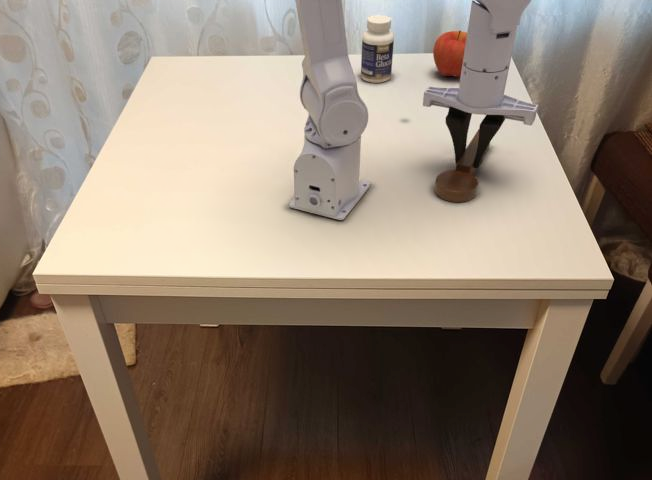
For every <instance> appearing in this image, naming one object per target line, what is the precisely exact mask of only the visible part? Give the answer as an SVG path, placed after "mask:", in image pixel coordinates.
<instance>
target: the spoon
mask: <svg viewBox="0 0 652 480" xmlns="http://www.w3.org/2000/svg"><path fill="white" fill-rule="evenodd" d="M478 140H479V129H478V130H477V131H476V133H475V134H474V136H473V138H472V139H471V140H470V142H469V144H468V145H467V146H466V150H465V151H464V153H463V155H462V156H461V158H460V159H459V161H458V162H457V164H456V165H455V169H449V170H445V171H442V172H440V173H439V174H437V176H436V177H435V182H434V183H435V185H434V193H435V195H437V197H439V198H440V199H441V200H443V201H447V202H452V203H465V202H468V201H470V200H473V199H474V198H475V197H476V196H477V192H478V187H479V180H478V177H477V176H475V175H474V174H475V172H476V171H477V169H478V168H474V160H475V156H476V152H477V148H478ZM490 145H491V142H490V143H489V145H488V147H487V150H486V152H485V155H486V153H487V152H488V150H489V148H490Z"/></svg>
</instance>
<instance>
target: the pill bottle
mask: <svg viewBox="0 0 652 480" xmlns="http://www.w3.org/2000/svg"><path fill="white" fill-rule="evenodd" d="M391 27H392V18H391V17H390V16H388V15H383V14H374V15H370V16H368V17H367V19H366V29H367V30H366V31H364V32H363V34H362V38H361V62H360V66H361V67H360V77H361V79H362V80H364V81H366V82H368V83H375V84H376V83H377V84H380V83H385V82H387V81H389V80H390V79H391V77H392V70H393V57H394V43H395V35H394V33H393V32H392V31H391V30H390V29H391Z"/></svg>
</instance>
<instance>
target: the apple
mask: <svg viewBox="0 0 652 480" xmlns="http://www.w3.org/2000/svg"><path fill="white" fill-rule="evenodd" d="M466 37H467V32H466V31H462V30H451V31H447V32H444V33H442V34H440V35H439V36H438V38H437V39H436V40H435V42H434V45H433V50H432V53H433V54H432V55H433V61H434V64H435V68H436V69H437V70H438V72H439V73H440V74H441V75H442V76H444V77H448V76H453V77H456V78H460V77H461V70H462V64H463V57H464V51H465V44H466Z"/></svg>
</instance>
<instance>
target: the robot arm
mask: <svg viewBox="0 0 652 480" xmlns="http://www.w3.org/2000/svg"><path fill="white" fill-rule="evenodd" d="M531 2H532V0H471V4H470V10H469V11H470V12H469V18H468V25H467V32H466V33H467V37H466V44H465V51H464V57H463V64H462V70H461V76H460V77H459V85H458V87H439V86H430V85H429V86H428V87H427V88H426V89H425V90H424V92H423V99H422V107H426V108H431V107H432V106H434V107H438V108H439V107H440V108H445V109H448V112H447V115H446V116H445V125H446V127H447V129H448V131H449V134H450V137H451V140H452V141H451V142H452V145H453V151H454V164H457V162H458V161H459V159H460V158H461V156H462V155H463V153H464V151H465V150H466V148H467V142H468V134H469V130H470V129H469V128H470V124H471V120H472V115H484V116H485V117H483V119H482V120H481V122H480V123H479V127H478V128H479V129H478V130H479V140H478V148H477V152H476V156H475V160H474V168H477V169H479V168H480V167H481V165H482V163H483V160H484V157H485V155H486V154H485V152H486V150H487V147H488V145H489V143H490V144H491V141H492V140H493V138H494V137H495V136H496V134H497V133H498V132H499V130H500V129H501V127H502V125H503V124H504V122H505V120H511V121H516V122H523V125H526V126H532V125H533V124H534V122H535V120H536V117H537V114H538V113H537V112H538V109H539V104H535V103H531V102H527V101H524V100H521V99H519V98H516V97H512V96H510V95H507V94H505V90H506V85H507V81H508V77H509V70H510V65H511V60H512V57H513V56H512V55H513V50H514V46H515V41H516V35H517V32H518V31H517V30H518V26H520V23H521V18H522V15H523V12H524V11H525V10H526V9H527V8H528V6H529V5H530V4H531ZM295 6H296V13H297V19H298V24H299V25H298V26H299V30H300V34H301V35H300V36H301V42H302V48H303V53H304V57H303V58H302V59H303V60H302V61H301V68H302V74H303V75H302V80H301V84H300V88H299V99H300V102H301V105H302V107H303V108H304V110H305V111H307V113H308V116H307V119H306V122H305V125H304V127H303V131H304V132H303V133H304V139H303V140H304V141H303V146H302V150H301V152H300V154H299V156H298V157H296V160H295V161H294V165H293V185H294V187H293V189H294V197H293V198H292V199H291V200H290V202H289V203H288V206H289V208H291V209H294V210H299V211H303V212H307V213H310V214H315V215H318V216H322V217H326V218H331V219H335V220H338V221H344V220H345V219H346V218H347V216H348V215H349V214H350V212H351V211H352V210H353V208H354V207H355V206H356V204H357V203H359V201H360V200H361V198H362V197H363V195H364V194H365V193H366V192H367V191H368V189H370V187H371V183H370V182H368V181H365V180H361V178H360V175H361V174H360V173H361V150H362V135H363V133H364V132H365V131H366V128H367V126H368V123H369V109H368V107H367V105H366V103H365V102H364V100H363V99H362V98H361V95H360V93H359V89H358V82H357V78H356V75H355V72H354V69H353V66H352V63H351V60H350V57H349V51H348V43H347V42H348V41H347V33H346V25H345V16H344V9H343V0H295ZM489 146H490V145H489ZM487 151H488V150H487ZM486 153H487V152H486Z"/></svg>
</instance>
